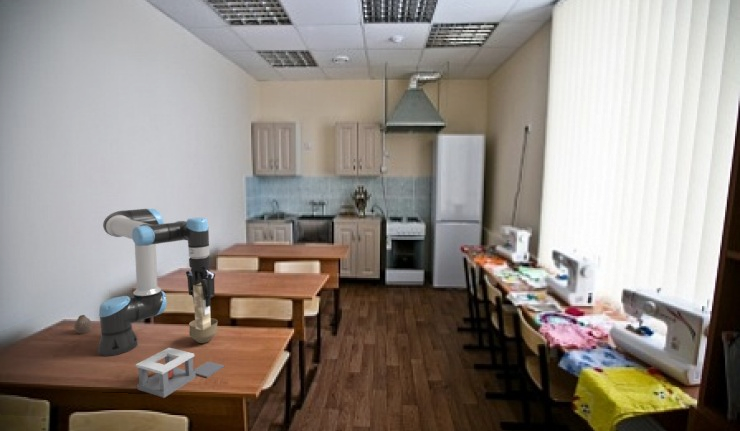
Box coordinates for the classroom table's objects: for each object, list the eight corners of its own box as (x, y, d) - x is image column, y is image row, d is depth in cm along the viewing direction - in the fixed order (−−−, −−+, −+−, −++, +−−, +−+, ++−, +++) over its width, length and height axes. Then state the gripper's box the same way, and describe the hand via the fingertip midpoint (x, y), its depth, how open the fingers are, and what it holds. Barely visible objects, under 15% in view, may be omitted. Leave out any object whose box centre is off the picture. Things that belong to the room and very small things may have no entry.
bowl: (224, 339, 174) (223, 319, 173) (199, 349, 164) (198, 329, 162) (208, 333, 181) (207, 314, 180) (184, 343, 170) (183, 323, 169)
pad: (190, 373, 144) (190, 371, 144) (208, 362, 152) (207, 361, 152) (207, 377, 141) (207, 376, 141) (224, 366, 149) (224, 365, 149)
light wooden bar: (195, 328, 143) (193, 285, 141) (203, 324, 146) (201, 282, 144) (203, 330, 141) (200, 286, 139) (211, 326, 145) (208, 283, 143)
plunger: (158, 383, 136) (157, 370, 135) (168, 377, 140) (167, 365, 139) (166, 386, 134) (165, 373, 134) (176, 380, 138) (175, 367, 138)
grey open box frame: (137, 389, 133) (135, 364, 132) (170, 370, 146) (169, 347, 145) (164, 397, 128) (162, 371, 127) (195, 377, 141) (194, 353, 140)
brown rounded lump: (71, 334, 180) (69, 318, 179) (84, 328, 186) (82, 312, 185) (82, 335, 178) (81, 318, 178) (95, 329, 185) (93, 313, 184)
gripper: (175, 256, 140) (179, 313, 143) (207, 260, 134) (211, 319, 136) (191, 253, 147) (194, 307, 150) (222, 256, 141) (225, 312, 143)
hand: (202, 312), depth 143 cm, fingers closed on light wooden bar, 4 cm apart
